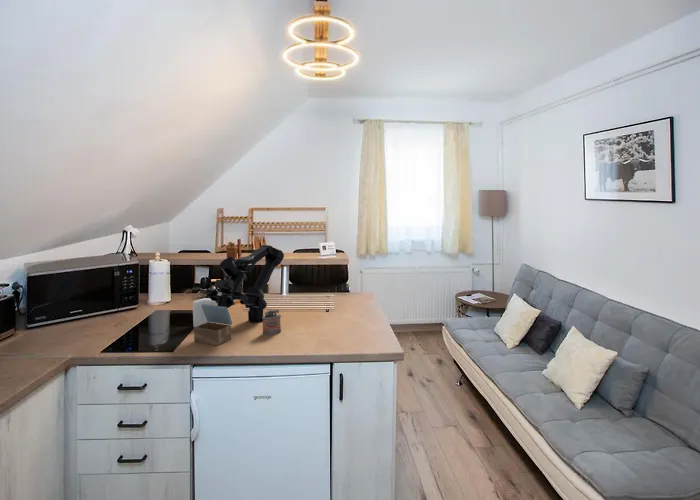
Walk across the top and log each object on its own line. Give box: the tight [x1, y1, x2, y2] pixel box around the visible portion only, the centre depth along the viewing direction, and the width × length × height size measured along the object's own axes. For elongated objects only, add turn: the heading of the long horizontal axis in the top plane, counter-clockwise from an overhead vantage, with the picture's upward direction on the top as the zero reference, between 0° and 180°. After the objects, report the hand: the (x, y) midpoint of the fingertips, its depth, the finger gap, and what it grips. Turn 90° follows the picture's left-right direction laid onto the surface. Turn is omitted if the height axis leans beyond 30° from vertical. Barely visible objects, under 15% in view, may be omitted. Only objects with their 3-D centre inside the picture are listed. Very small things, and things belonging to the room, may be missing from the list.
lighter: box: [262, 309, 282, 336], centre depth 182 cm, size 8×3×10 cm, turn 117°
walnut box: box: [193, 322, 232, 347], centre depth 173 cm, size 8×12×6 cm, turn 67°
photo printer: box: [192, 297, 217, 328], centre depth 193 cm, size 10×4×12 cm, turn 123°
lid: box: [201, 304, 233, 326], centre depth 174 cm, size 8×12×1 cm
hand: (217, 313), depth 175 cm, fingers closed, pressing on lid
